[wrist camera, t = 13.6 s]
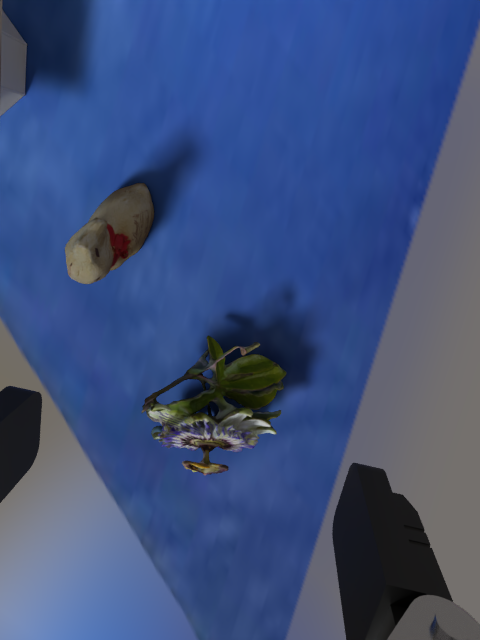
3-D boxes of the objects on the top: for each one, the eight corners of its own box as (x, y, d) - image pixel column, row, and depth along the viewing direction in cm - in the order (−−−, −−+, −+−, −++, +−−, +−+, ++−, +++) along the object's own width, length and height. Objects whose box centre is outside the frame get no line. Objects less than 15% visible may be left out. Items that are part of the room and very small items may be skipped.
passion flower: (224, 393, 51) (147, 470, 43) (196, 308, 46) (103, 378, 38) (313, 418, 44) (238, 516, 36) (291, 321, 39) (199, 409, 31)
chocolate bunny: (72, 224, 41) (7, 239, 31) (140, 175, 39) (95, 175, 29) (108, 276, 42) (57, 305, 32) (177, 230, 40) (144, 247, 31)
